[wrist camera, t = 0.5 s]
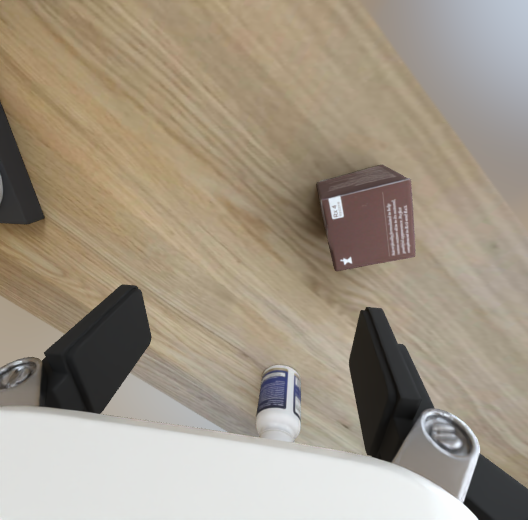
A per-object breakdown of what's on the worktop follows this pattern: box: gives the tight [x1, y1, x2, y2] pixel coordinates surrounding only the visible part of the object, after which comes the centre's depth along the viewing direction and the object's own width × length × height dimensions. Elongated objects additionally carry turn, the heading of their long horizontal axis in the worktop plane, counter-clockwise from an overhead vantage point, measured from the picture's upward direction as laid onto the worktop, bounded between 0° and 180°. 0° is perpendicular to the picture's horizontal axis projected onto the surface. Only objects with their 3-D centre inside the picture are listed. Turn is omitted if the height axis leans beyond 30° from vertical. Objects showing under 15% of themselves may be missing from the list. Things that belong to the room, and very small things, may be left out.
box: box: [317, 165, 415, 271], centre depth 22 cm, size 6×6×7 cm
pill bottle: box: [256, 365, 301, 443], centre depth 33 cm, size 5×5×10 cm
